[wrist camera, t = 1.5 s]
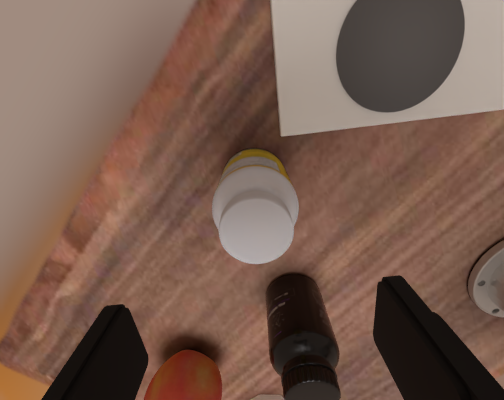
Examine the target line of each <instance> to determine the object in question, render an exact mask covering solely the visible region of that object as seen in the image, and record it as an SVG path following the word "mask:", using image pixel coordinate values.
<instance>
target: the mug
mask: <svg viewBox="0 0 504 400" xmlns="http://www.w3.org/2000/svg"><path fill="white" fill-rule="evenodd" d="M250 400H284V398H283V397H282V396H281V395H267V394H259V395H258V396H256V397H254V398H252V399H250Z"/></svg>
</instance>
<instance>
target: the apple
mask: <svg viewBox="0 0 504 400" xmlns="http://www.w3.org/2000/svg"><path fill="white" fill-rule="evenodd" d="M221 397H222V380H221V375H220V371H219V369H218V367H217V365H216V364H215V362H214V361H213V360H212V359H210V358H209V357H207V356H206V355H204V354H202V353H200V352H197V351H194V350H182V351H180V352H178V353H176V354H174V355H173V356H172V357H170V358H169V359H168V360H167V361H166V362H165V363H164V364H163V365H162V366H161V367H160V368H159V370H158V371H157V372H156V374H155V375H154V377H153V378H152V380H151V382H150V384H149V386H148V389H147V391H146V394H145V397H144V400H221Z"/></svg>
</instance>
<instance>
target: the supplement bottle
mask: <svg viewBox="0 0 504 400" xmlns="http://www.w3.org/2000/svg"><path fill="white" fill-rule="evenodd" d="M266 307H267V324H268V340H269V355H270V361H271V364H272V366H273V368H274V369H275V371H276V372H277V373H278V374H279V375H280V376H281V382H282V386H283V394H284V400H339V399H340V398H341V397H340V389H339V385H338V382H337V375H336V372H335V368H336V367H337V364H338V361H339V348H338V344H337V341H336V338H335V335H334V332H333V329H332V326H331V323H330V320H329V317H328V314H327V311H326V308H325V305H324V302H323V299H322V296H321V293H320V291H319V288H318V286H317V285H316V284H315V283H314V282H313V281H312V280H311V279H309V278H308V277H305V276H302V275H296V274H292V275H286V276H283V277H280V278H278V279H277V280H275V281H274V282H273V283H272V284H271V285H270V287H269V288H268V291H267V294H266Z"/></svg>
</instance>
